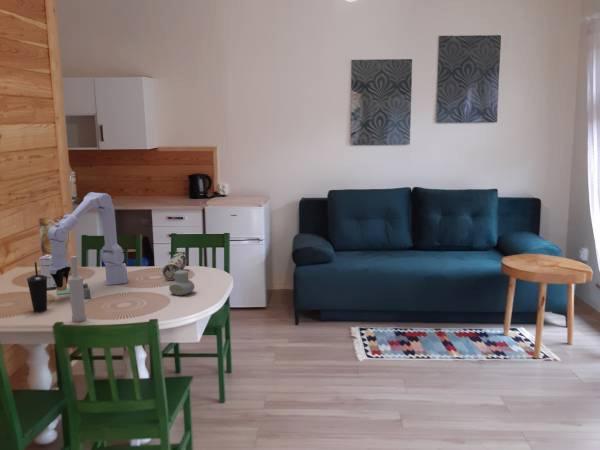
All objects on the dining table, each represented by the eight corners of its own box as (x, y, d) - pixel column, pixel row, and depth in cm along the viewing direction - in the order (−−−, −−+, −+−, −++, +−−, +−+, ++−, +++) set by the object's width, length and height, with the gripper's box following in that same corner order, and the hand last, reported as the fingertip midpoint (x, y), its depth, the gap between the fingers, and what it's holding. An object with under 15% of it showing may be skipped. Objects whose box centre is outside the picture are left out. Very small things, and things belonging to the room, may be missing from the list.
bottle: (81, 316, 219) (75, 254, 215) (89, 318, 216) (83, 256, 212) (69, 320, 215) (63, 257, 210) (77, 322, 212) (71, 258, 207)
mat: (72, 288, 255) (72, 288, 255) (74, 293, 249) (74, 292, 249) (56, 291, 252) (56, 290, 252) (57, 295, 246) (57, 294, 246)
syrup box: (53, 288, 257) (50, 257, 254) (41, 287, 258) (38, 257, 255) (60, 284, 262) (58, 254, 260) (49, 284, 263) (46, 254, 261)
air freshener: (166, 295, 245) (165, 273, 243) (176, 289, 253) (175, 268, 251) (187, 297, 242) (186, 275, 240) (197, 292, 249) (196, 270, 247)
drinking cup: (34, 307, 230) (29, 260, 226) (53, 306, 231) (48, 259, 227) (26, 313, 223) (21, 265, 219) (46, 313, 223) (41, 264, 220)
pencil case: (170, 270, 287) (169, 251, 285) (187, 269, 287) (186, 251, 285) (162, 282, 265) (161, 262, 264) (180, 281, 266) (179, 261, 264)
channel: (87, 291, 251) (86, 283, 250) (90, 298, 241) (89, 289, 240) (73, 293, 249) (72, 284, 248) (75, 300, 238) (75, 291, 237)
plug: (66, 287, 243) (65, 276, 242) (67, 289, 240) (66, 278, 239) (43, 290, 239) (42, 279, 238) (44, 292, 236) (43, 281, 235)
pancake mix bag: (48, 270, 288) (43, 216, 282) (75, 274, 280) (71, 219, 275) (37, 273, 282) (31, 219, 276) (65, 277, 274) (60, 221, 269)
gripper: (60, 259, 231) (64, 290, 233) (75, 250, 245) (78, 280, 247) (44, 259, 231) (47, 290, 233) (59, 250, 245) (62, 280, 247)
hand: (62, 285), depth 240 cm, fingers closed on plug, 4 cm apart
